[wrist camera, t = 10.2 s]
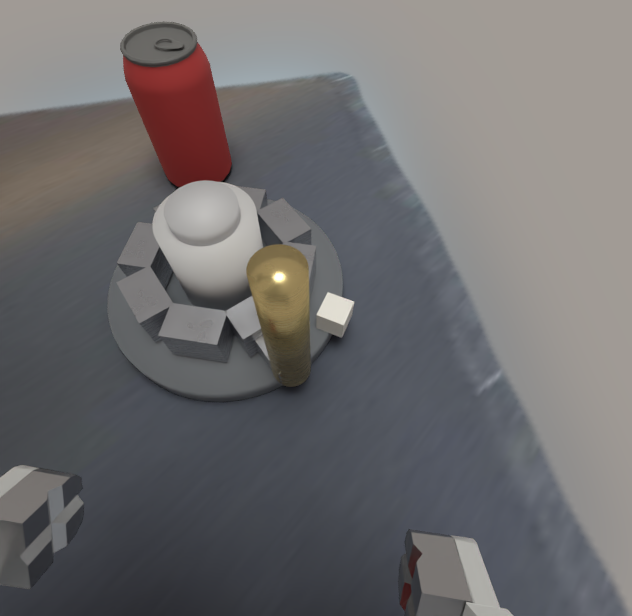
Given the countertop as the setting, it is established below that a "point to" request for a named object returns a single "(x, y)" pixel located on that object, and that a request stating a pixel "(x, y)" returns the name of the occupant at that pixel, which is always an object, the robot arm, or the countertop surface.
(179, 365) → the flange base
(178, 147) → the beer can
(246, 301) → the gear with peg
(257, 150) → the countertop surface
